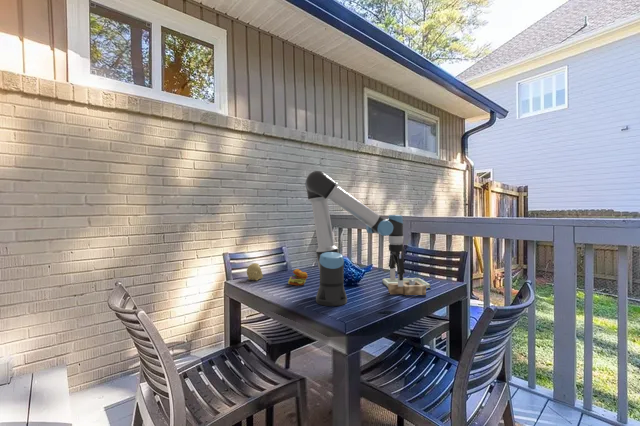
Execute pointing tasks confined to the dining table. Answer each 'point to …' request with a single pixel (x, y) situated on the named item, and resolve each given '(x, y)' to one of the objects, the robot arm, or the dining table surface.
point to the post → (411, 282)
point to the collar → (407, 288)
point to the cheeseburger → (298, 278)
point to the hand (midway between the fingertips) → (396, 283)
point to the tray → (406, 280)
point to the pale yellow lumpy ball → (254, 272)
